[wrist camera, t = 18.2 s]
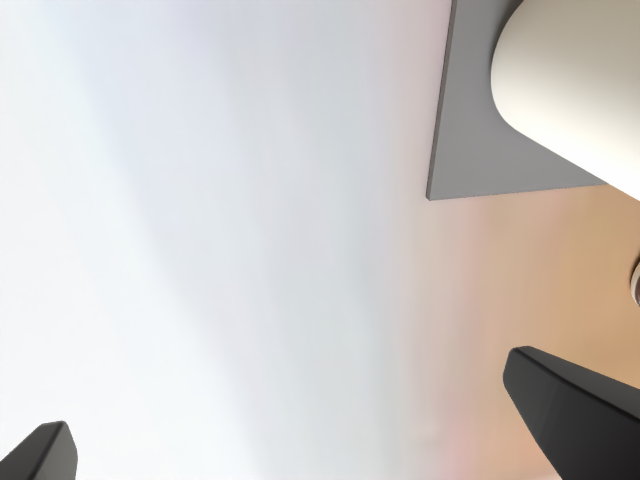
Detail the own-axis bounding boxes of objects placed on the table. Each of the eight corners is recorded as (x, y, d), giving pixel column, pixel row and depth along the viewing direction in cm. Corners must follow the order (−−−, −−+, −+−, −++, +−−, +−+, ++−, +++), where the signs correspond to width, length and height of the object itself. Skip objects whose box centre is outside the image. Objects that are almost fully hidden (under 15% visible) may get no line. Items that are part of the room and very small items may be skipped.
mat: (425, 197, 23) (429, 200, 22) (460, -59, 17) (466, -59, 17) (613, 179, 25) (618, 183, 24) (693, -54, 19) (702, -54, 19)
